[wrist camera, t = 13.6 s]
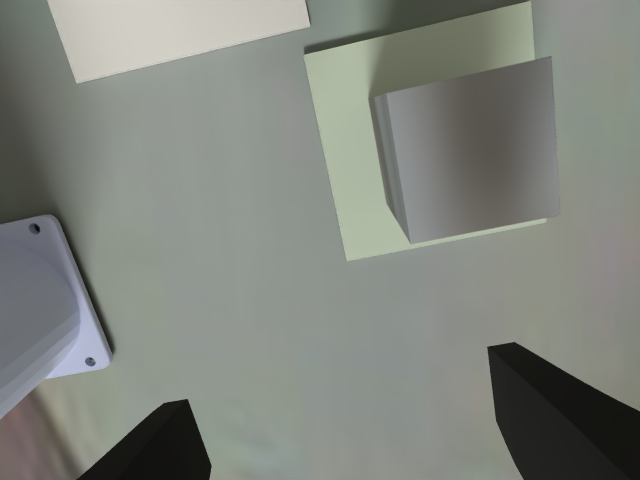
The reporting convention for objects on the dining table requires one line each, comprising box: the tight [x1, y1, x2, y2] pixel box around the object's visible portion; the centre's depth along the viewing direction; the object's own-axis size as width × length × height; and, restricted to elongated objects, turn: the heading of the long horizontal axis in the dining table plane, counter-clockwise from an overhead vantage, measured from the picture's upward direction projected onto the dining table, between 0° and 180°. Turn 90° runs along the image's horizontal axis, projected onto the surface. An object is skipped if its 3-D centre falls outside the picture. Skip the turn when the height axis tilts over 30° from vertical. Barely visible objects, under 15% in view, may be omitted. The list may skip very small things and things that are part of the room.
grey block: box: [368, 56, 561, 244], centre depth 15 cm, size 4×4×6 cm
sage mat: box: [304, 1, 546, 261], centre depth 18 cm, size 9×9×1 cm
